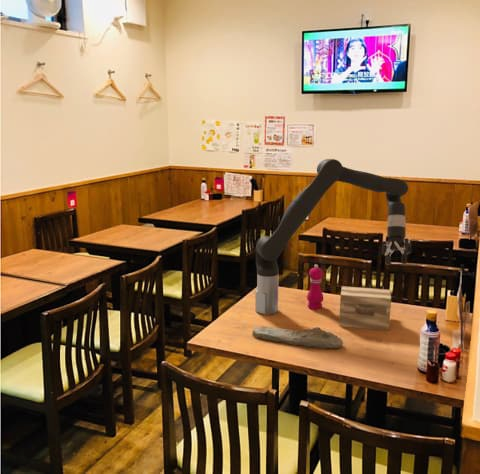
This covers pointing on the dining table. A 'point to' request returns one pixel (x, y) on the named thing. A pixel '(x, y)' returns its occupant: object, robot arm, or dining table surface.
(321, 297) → the pepper mill
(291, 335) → the long grey stone
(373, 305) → the wooden crate
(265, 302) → the robot arm
